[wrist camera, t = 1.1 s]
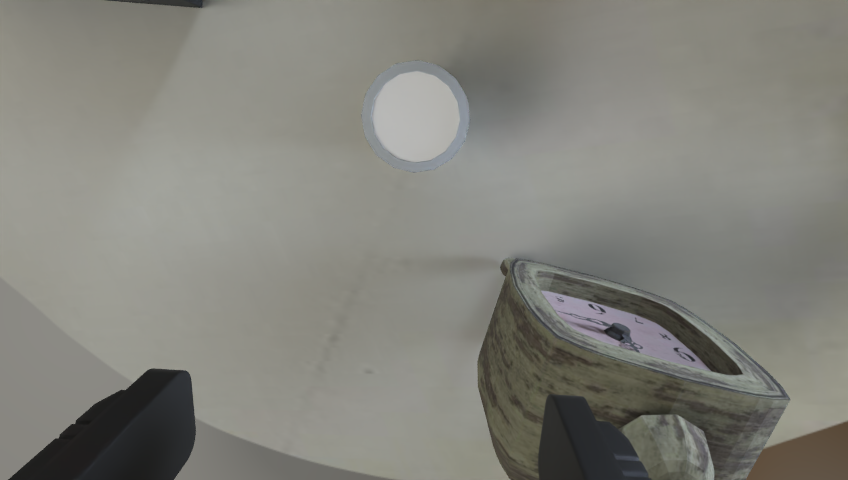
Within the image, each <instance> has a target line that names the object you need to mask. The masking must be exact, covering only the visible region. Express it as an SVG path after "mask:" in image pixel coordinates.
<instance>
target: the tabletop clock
mask: <svg viewBox="0 0 848 480" xmlns="http://www.w3.org/2000/svg"><path fill="white" fill-rule="evenodd" d="M500 268H501V271H502V274H503V275H505V276H506V278H505V280H504V283H503V286H502V289H501V292H500V295H499V298H498V301H497V304H496V307H495V310H494V313H493V315H492V318H491V321H490V324H489V327H488V330H487V333H486V336H485V339H484V342H483V345H482V348H481V351H480V354H479V358H478V388H479V392H480V396H481V400H482V403H483V407H484V411H485V415H486V419H487V423H488V427H489V431H490V435H491V439H492V443H493V447H494V449H495V452H496V455H497V457H498V459H499V462H500V464H501V466H502V467H503V469H504V470H505V472H506V474H507V475H508V477H509V478H510V479H511V480H539V472H538V453H539V445H540V438H541V431H542V424H543V417H544V410H545V403H546V399H547V396H548V395H549V394H555V395H571V396H583V397H584V398H585V399H586V401H587V403H588V405H589V407H590V409H591V411H592V413H593V415H594V417H595V419H596V420H597V421H607V422H610V423H611V424H612V425H614V426H615V427H616V428H617V429H618V430H619V431H620V432H621V433H623V434H624V435H625V436H626V437H627V438H628V439H629V441H630V442H631V444H632V446H633V448H634V449H635V451H636V453H637V455H638V456H639V461H641V462H642V463H643V465H644V467H645V469H646V470H647V472H648V476H649V478H651V479H652V480H746V478H747V476H748V474H749V472H750V471H751V469H752V467H753V465H754V464H755V462H756V460H757V458H758V456H759V455H760V453H761V451H762V449H763V448H764V446H765V444H766V442H767V440H768V439H769V437H770V435H771V433H772V432H773V430H774V428H775V426H776V424H777V423H778V421H779V419H780V417H781V416H782V414H783V412H784V410H785V408H786V407H787V405H788V403H789V401H790V398H789V397H788V395H787V393H786V392H785V390H784V389H783V387H782V386H781V385H780V384H779V383H778V382H777V381H776V380H775V379H774V378H773V377H772V376H771V375H770V374H769V373H768V372H767V371H766V370H765V369H764V368H763V367H761V366H760V365H759V364H758V363H757V362H756V361H754V360H753V359H752V358H751V357H750V356H749V355H748V354H746V353H745V352H744V351H743V350H742V349H741V348H740V347H738V346H737V345H736V344H735V343H733V342H732V341H731V340H729V339H728V338H727V337H725V336H724V335H723V334H721V333H720V332H718V331H717V330H716V329H714V328H713V327H712V326H710V325H709V324H708V323H706V322H705V321H703V320H702V319H701V318H699V317H698V316H696V315H695V314H693V313H692V312H690V311H688V310H687V309H685V308H683V307H681V306H680V305H678V304H676V303H675V302H673V301H670V300H668V299H665V298H662V297H660V296H657V295H654V294H651V293H648V292H645V291H642V290H639V289H636V288H632V287H629V286H625V285H622V284H619V283H615V282H612V281H608V280H605V279H601V278H598V277H595V276H591V275H587V274H583V273H579V272H576V271H572V270H568V269H564V268H560V267H556V266H552V265H548V264H544V263H539V262H534V261H529V260H522V259H514V258H507V259H505V260H503V262H502V264H501V267H500Z"/></svg>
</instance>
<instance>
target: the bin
mask: <svg viewBox="0 0 848 480" xmlns="http://www.w3.org/2000/svg"><path fill="white" fill-rule="evenodd" d="M108 1H121V2H133V3H146V4H159V5H171V6H184V7H197V8H202V0H108Z"/></svg>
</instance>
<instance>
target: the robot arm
mask: <svg viewBox="0 0 848 480" xmlns="http://www.w3.org/2000/svg"><path fill="white" fill-rule="evenodd" d="M195 435H196V427H195V416H194V405H193V394H192V383H191V377H190V374H189V373H188V372H187V371H184V370H168V369H149V370H148V371H146V372H145V373H144V374H143V375H142V376H141V377H140V378H138V379H137V380H136V381H135V382H134V383H133V384H132V385H131V386H130V387H129V388H128V389H126V390H120V391H118V392H116V393H115V394H113V395H111V396H109V397H107V398H105V399H103V400H101V401H99V402H98V403H96V404H94V405H93V406H92V407H91V408H90V409H89V410H88V411H86V412H85V413H84V414H83V415H82V416H81V417H80V418H78V419H77V420H76V423H75V424H72V425H70V426H69V427H68V428H67V429H66V430H65V431H63V432H62V433H61V434H60V437H59V438H58V439H54V440H53V441H52V442H51V443H50V444H49V445H47V446H46V447H45V448H44V449H43V450H42V451H41V452H39V453H38V454H37V455H36V456H35V457H34V458H33V459H31V460H30V461H29V462H28V463H27V464H26V465H25V466H23V467H22V468H21V469H20V470H19V471H18V472H17V473H16V474H14V475H13V476H12V477H11V478H10V479H9V480H174V479H175V477H176V476H177V474H178V473H179V471H180V470H181V469H182V467H183V466H184V464H185V463H186V461H187V460H188V458H189V456H190V454H191V451H192V449H193V446H194V441H195ZM538 472H539V480H652V479H651V478H649V476H648V472H647V470H646V469H645V467H644V465H643V463H642V462H641V461H639V456H638V455H637V453H636V451H635V449H634V448H633V446H632V444H631V442H630V441H629V439H628V438H627V437H626V436H625V435H624V434H623V433H621V432H620V431H619V430H618V429H617V428H616V427H615V426H614V425H612V424H611V423H610V422H607V421H597V420H596V419H595V417H594V415H593V413H592V411H591V409H590V407H589V405H588V403H587V401H586V399H585V398H584V397H583V396H571V395H555V394H549V395H548V396H547V399H546V403H545V410H544V417H543V424H542V431H541V438H540V445H539V453H538Z"/></svg>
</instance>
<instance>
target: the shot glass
mask: <svg viewBox="0 0 848 480" xmlns="http://www.w3.org/2000/svg"><path fill="white" fill-rule="evenodd" d="M361 117H362V123H363V128H364V134H365V138H366V139H367V141H368V142H369V144H370V146H371V147H372V149H373V150H374V152H375V154H376V155H377V156H378V157H380V158H381V159H382V160H384V161H385V162H386V163H388V164H389V165H391V166H392V167H393V168H397V169H401V170H405V171H409V172H413V173H415V172H421V171H428V170H434V169H436V168H437V167H439V166H441V165H442V164H444V163H446V162H447V161H449V160H451V159H452V158H453V157H454V155H455V154H456V153H457V151H458V150H459V149H460V147H461V146H462V145H463V143H464V142H465V139H466V135H467V131H468V127H469V124H470V114H469V106H468V98H467V97H466V95H465V93H464V91H463V90H462V88H461V86H460V84H459V82H458V81H457V79H456V78H455V77H453V76H452V75H451V74H450V73H448V72H447V71H446V70H444V69H443V68H442V67H441V66H439V65H436V64H432V63H428V62H424V61H420V60H414V61H408V62H402V63H396V64H395V65H393V66H392V67H390V68H389V69H387V70H386V71H384V72H382V73H381V74H379V75H378V76H377V78H376V79H375V81H374V82H373V84H372V85H371V87H370V88H369V90H368V91H367V93H366V94H365V99H364V104H363V109H362V114H361Z"/></svg>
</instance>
